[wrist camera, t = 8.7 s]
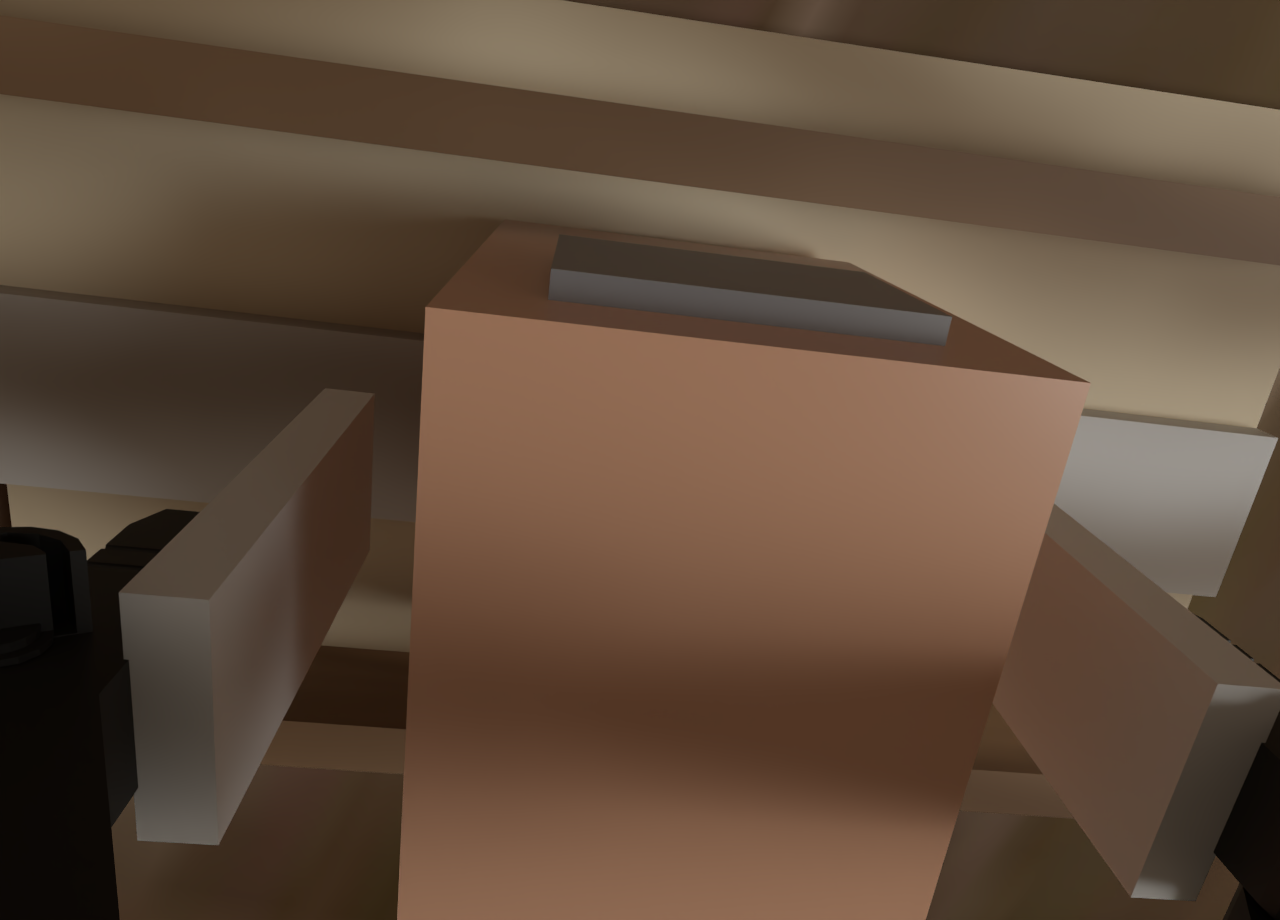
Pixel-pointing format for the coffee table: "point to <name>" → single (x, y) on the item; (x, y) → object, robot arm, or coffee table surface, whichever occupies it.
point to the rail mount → (593, 200)
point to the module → (707, 581)
